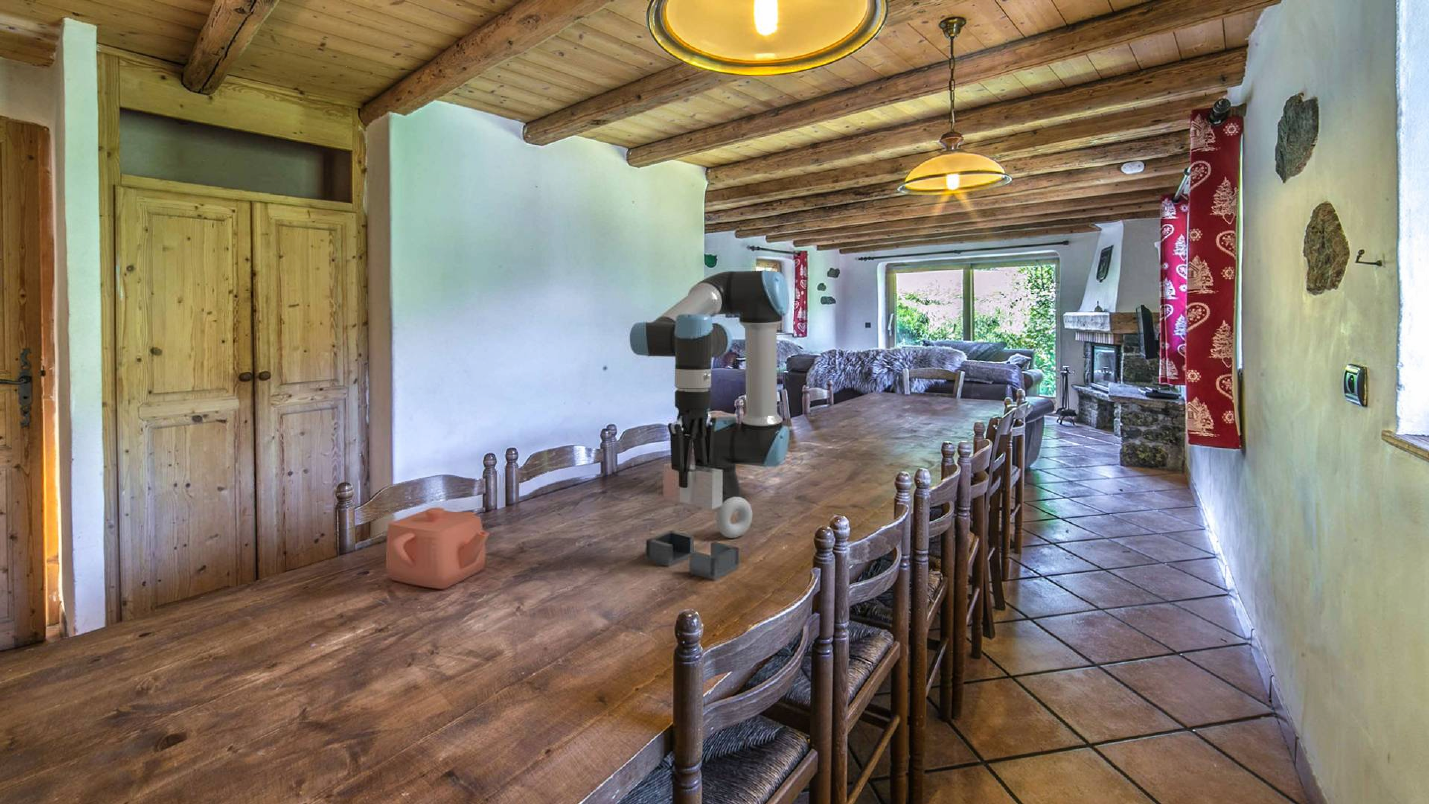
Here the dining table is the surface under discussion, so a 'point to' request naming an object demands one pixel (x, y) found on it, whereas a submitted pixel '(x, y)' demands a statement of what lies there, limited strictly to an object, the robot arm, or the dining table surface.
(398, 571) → the teapot
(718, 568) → the end link
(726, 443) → the robot arm
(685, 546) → the end link
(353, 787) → the dining table surface
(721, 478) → the light grey block
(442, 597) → the dining table surface
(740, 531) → the donut
